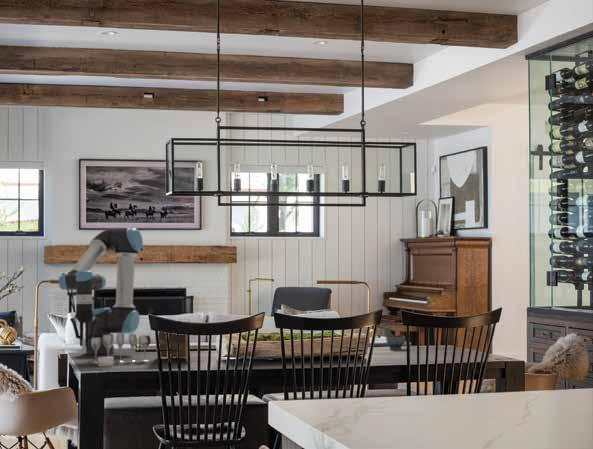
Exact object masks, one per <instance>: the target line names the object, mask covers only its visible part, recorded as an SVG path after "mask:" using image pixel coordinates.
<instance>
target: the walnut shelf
mask: <svg viewBox="0 0 593 449" xmlns="http://www.w3.org/2000/svg"><path fill="white" fill-rule="evenodd" d="M174 320H175V321H182V322H190V321H191V320H190V319H187V318H186V319H174ZM190 323H191V322H190ZM159 344H160V349H161V350H162V349H167V339H166V333H164V332H159ZM169 345H170V349H175V350H176V349H177V335H176V334H172V333H169ZM179 346H180V357H182V358H183V357H186V359H185V363H186V362H187V358H188V350H187V335H181V334H180V335H179ZM170 354H171V358H173V357H176V358H177V351H171V352H170ZM161 356H162V357H167V351H165V352H164V351H161Z"/></svg>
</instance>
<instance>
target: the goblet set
mask: <svg viewBox="0 0 593 449" xmlns="http://www.w3.org/2000/svg"><path fill="white" fill-rule="evenodd" d="M128 334H129V335H128V343H129V345H130V348H131V359H132V360H129V361H128V362H130V363H136V362H135V361H136V360H134V348H135V345H136V342H137V335H136V334H137V333H128ZM114 337H115V336H114V333H111V334H105V335H103V344H104V346H105V347H106V349H107V352H108V354H107V356H110V354H109V350H110V348H111V346H112V345H113V346H114V341H115V340H114V339H115V338H114ZM116 344H117V347H118V349H119V360H117V361H116V363H125V361H124V360H122V348H123V346H124V344H125V334H124V333H116ZM138 344H139V345H140V347H141V348H142V349H143V352H144V353H143V357H144V359H143V360H140V362H141V361H142V362H143V363H146V361H147V362H150V360H149V359H146V350H147V349H148V347H149V346H150V344H151V336H150V335H139V337H138ZM91 345H92V347H93V349H94V351H95V357H98V356H97V350H98V349H99V347H100V345H101V337H91ZM91 364H98V360H95V361H92V362H91Z"/></svg>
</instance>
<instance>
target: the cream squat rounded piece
mask: <svg viewBox="0 0 593 449" xmlns="http://www.w3.org/2000/svg"><path fill="white" fill-rule="evenodd" d="M114 359H115V358H114V356H110V355H109V356H108V355H103V356H97V362H98V363H97V366H98V367H112V365H113V366H114V364H115V363H114Z"/></svg>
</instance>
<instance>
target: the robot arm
mask: <svg viewBox="0 0 593 449" xmlns="http://www.w3.org/2000/svg"><path fill="white" fill-rule="evenodd" d="M143 243H144V242H143V236H142V234H141V232H140V231H139V229H138V228H134V227H123V228H121V227H120V228H117V227H116V228H112V227H111V228H107V229H105V230H103V231H101V232H100V233H98V234H96V235H95V236H94V237H93V239H91V241H90V242H89V246H88V247H87V249H86V250H85V252H84V253H83V254H82V255H81V257H80V258H79V259H78V261H76V263H75V264H74V266H73V267H72V268H71V269H70V271H69V272H68V273H65V274H62V275H61V274H60V275H59V278H58V286H59V288H60V289H61V290H63V291H64V290H65V291H75V292H76V294H75V295H76V297H75V298H76V299H75V302H76V305H75V314H74V316H73V317H71V318H70V319H69V320H70V321H71V323H72V327H73V330H74V335H75V338H76V339H79V347H82V348H81V351H82V355H83V354H85V355H93V356H94V355H95V351H94V349H93V347H92V345H91V337H101V345H100V347H99V349H98V350H97V355H99V356H100V355H108V352H107V349H106V347H105V346H104V344H103V335H105V334H124V335H126V334H134V332H135V331H137V329H138V328H139V325H140V318H141V317H140V313H139V312H138V310H136V306H135V305H134V284H135V282H134V278H135V258H136V257H137V256H138V254H139V251H141V250H142V248H143ZM111 251H113V252H114V254H115V255H116V257H117V263H116V265H117V266H116V267H117V269H116V290H115V292H116V293H115V304H114V305H113V306H112V309H111V307H104V308H95V309H93V291H100V290H103V289H104V288H105V286H106V284H107V281H106V278H105V276H104V275H103V274H99V273H95V274H93V271H91V270H92V269H93V267H95V265H96V263H97V262H98V261H99V259H100V258H101V257H102V256H104V255H106V254H107V253H108V252H111ZM77 321H78V322H79V329H78V325H77ZM84 327H85V330H84ZM84 331H85V333H84ZM84 334H85V335H84ZM84 337H85V338H84ZM111 354H115V347H114V344H113V345H112V346H111V348H110V350H109V355H111Z"/></svg>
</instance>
